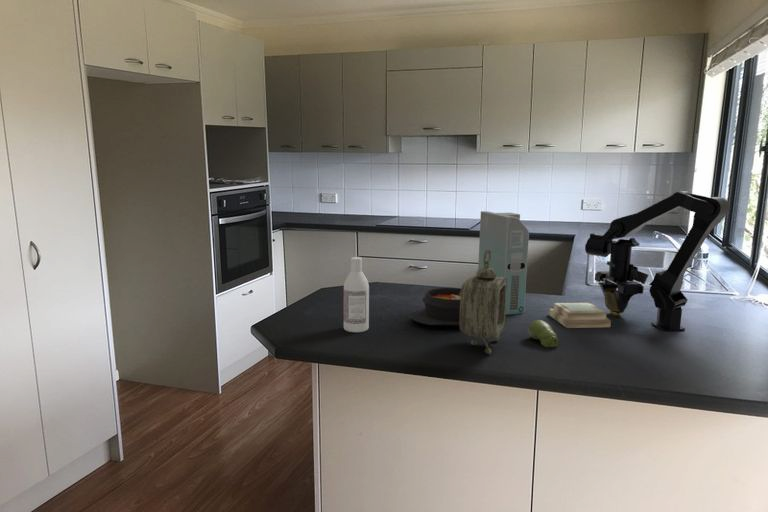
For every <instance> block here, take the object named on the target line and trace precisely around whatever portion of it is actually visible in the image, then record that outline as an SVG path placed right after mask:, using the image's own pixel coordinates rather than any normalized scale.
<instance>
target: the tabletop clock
mask: <svg viewBox="0 0 768 512" xmlns="http://www.w3.org/2000/svg"><path fill="white" fill-rule="evenodd" d="M487 253H489V259H488V261H487V260H486V261H485V259H486V255H487ZM490 258H491V252H490V250H489V249H487V250H486V251H485V254H484V260H483V263H484V266H485V267H483V268H480V269H479V270H478V269H477V271H476V273H475V275H474V276H471V277H469V278H468V279H466V280H465V282H463V283H462V286H461V288H460V289H461V297H460V320H459V326H458V327H459V331H461V333H463V334H464V335H465V336H467V337H474V338H473V339H471V341H470V345H472V346H476V345H477V344H478V341H477V338H481V339H482V340H483V343H484V345H485V349H484V353H485V354H486V355H491V353H492V349H491V347H489V343H488V339H490V340H491V339H493V341H495V342H499V340H500V336H501V334H502V333H503V331H504V327H505V324H506V301H507V278H505V277H497V275H496V273H495V271H494V270H493V269H492V268H489V263H490Z"/></svg>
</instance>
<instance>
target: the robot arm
mask: <svg viewBox="0 0 768 512" xmlns="http://www.w3.org/2000/svg"><path fill="white" fill-rule="evenodd" d="M680 208H683V209H685V210H686V211H687V210H688V211H689V212H692V213H694V215H693V220H692V221H693V222H692V225H691V228H690V230H689V231H688V233H687V235H686V237H685V238H684V239H683V242H682V243H681V244H680V247H679V248H678V250H677V252H676V254H675V255H674V257H673V259H672V261H671V262H670V264H669V266H668V267H667V269H666V270H661V271H657V272H656V273H655V275H654V277H653V279H652V281H651V282H650V283H649V286H650V287H649V295H650V296H651V298H652V299H653V303H654V307H655V308H657V313H656V314H657V315H656V322H651V325H653V326H655V327H656V328H658V329H660V330H662V331H666V332H667V331H668V332H670V331H672V332H673V331H686V328H685V327H683V326H681V323H682V315H683V314H682V313H683V309H682V307H685V306H686V304H687V302H688V298H687V297H686V296H685V294H684V293H683V292H682V291H681V290H682V287H683V283H684V276H685V274H686V272H687V270H688V268H689V267H690V265H691V263H692V262H693V260H694V259H695V257H696V255H697V254H698V252H699V250H700V249H701V247H702V245H703V244H704V242H705V240H706V239H707V237H708V235H709V234H710V232H711V231H712V230H713V229H714V228H716V227H717V226H718V225H719V224H720V223H721V222H722V221H723V220H724V219H725V217H726V216H727V215H728V214H729V213H730V210H731V209H730V208H731V206H730V203H729V202H728V201H727V199H725V198H724V197H721V196H714V197H713V196H712V197H708V196H704V195H700V194H696V193H692V192H689V191H686V190H685V191H684V190H682V191H680V190H679V191H675V192H674V193H673V194H672V195H670V196H668V197H666V198H664V199H662V200H660V201H658V202H655V203H654V204H652V205H651V206H647V207H645V209H642V210H640V211H638V212H637V213H633V214H629V215H625V216H621V217H617V218H615V219H613V220H612V221H611V222H610V225H609V228H608V229H607V230H606V231H605V233H604V234H599V233H595V232H592V233H590V234H589V238H588V239H587V241H586V243H585V244H584V245H585V246H584V249H585V253H586V255H589V256H596V257H602V258H607V257H608V256H609V255H610V257H609V261H606V265H607V266H609V267H608V270H605V271H603V270H602V271H601V270H600V271H596V273H595V274H594V281H596V282H598V285H599V287H600V290H601V291H602V293H603V296H604V297H605V292H604V289H606V288H607V289H608V288H609V287H610V288H616V290H618V291H615V295H616V299H617V304H618V309H619V312H620V313H622V314H624V312H625V310H626V309H627V308H626V306H627V307H628V305H627V304H629V301H630V300H631V298H632V297H634V296H635V295H639V294H640V295H641V294H644V290H645V287H644V285H645V284H646V282H647V279H648V277H649V274H648V273H644V272H643V271H639V268H638V266H635V265H634V264H633V263H631V261H632V260H631V259H632V249H633V248H635V247H639V246H640V245H641V244H640V243H639V242H638V241H637V240H636V239H635V237H632V238H631V236H633V235H635V234H637V233H638V232H639V231H640V230H642V229H643V228H644V227H645V226H647V224H649V223H651V222H653V221H656V220H658V219H659V218H661V217H664V216H665V215H667V214H670V213H671V212H674V211H676V210H678V209H680ZM627 237H630V238H629V239H625V238H627ZM616 239H618V240H616ZM625 308H626V309H625Z"/></svg>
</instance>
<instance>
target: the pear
mask: <svg viewBox="0 0 768 512" xmlns="http://www.w3.org/2000/svg"><path fill="white" fill-rule="evenodd" d="M528 334H529V337H530V338H532V340H536V341H539V342H540V344H541V346H543V347H544V348H554V347H558V344H559V338H558V334H557V333H556V332H555V331H554V329H553V327H552V326H551V324H549V323H548V322H546V321H545V320H541V319H535V320H533V321H531V322H530V323H529V325H528Z"/></svg>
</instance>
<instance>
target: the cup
mask: <svg viewBox="0 0 768 512" xmlns="http://www.w3.org/2000/svg"><path fill="white" fill-rule="evenodd" d="M615 291H618V289H616V288H610V287H609V288H608V289H607V288H606V289H604V292H605V296H604V305H605V307H606V309H608V310H609V311H608V314H609V315H610V316H612V317H621V316H622V314H623V313H620V312H619V309H618V304H617V299H616V295H615ZM628 304H629V303H628ZM628 304H627V306H626V308H625V310H626V309H627V308H628Z"/></svg>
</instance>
